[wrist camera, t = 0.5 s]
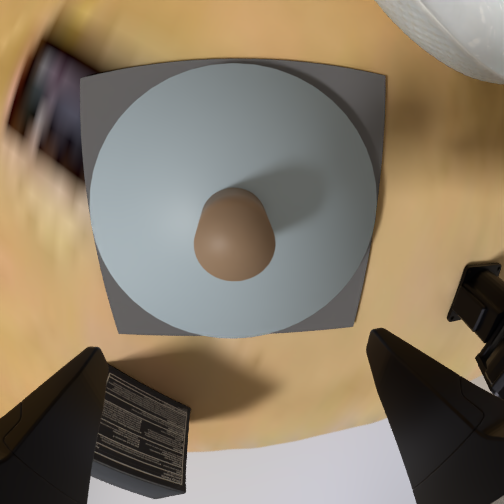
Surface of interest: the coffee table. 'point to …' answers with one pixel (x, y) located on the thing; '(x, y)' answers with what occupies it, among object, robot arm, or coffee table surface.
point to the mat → (148, 76)
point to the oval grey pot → (455, 32)
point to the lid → (233, 200)
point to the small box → (141, 439)
